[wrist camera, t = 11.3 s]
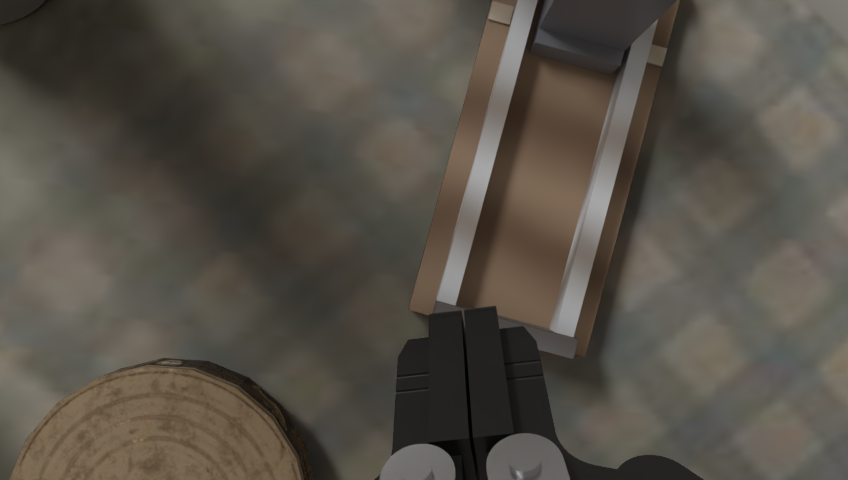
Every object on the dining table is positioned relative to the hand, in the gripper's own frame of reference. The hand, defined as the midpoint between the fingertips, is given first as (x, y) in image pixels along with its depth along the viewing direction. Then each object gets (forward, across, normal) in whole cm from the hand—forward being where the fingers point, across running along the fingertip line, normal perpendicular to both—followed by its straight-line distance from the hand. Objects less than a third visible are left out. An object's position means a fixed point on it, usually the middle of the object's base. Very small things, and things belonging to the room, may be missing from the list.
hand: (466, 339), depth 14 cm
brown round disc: (+12, +18, +20) cm, 30 cm away
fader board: (+23, -5, +6) cm, 24 cm away
